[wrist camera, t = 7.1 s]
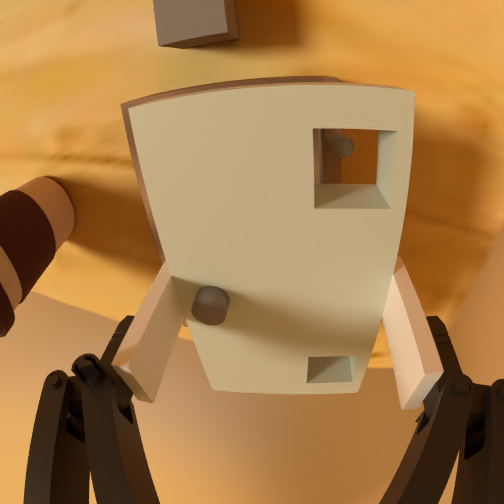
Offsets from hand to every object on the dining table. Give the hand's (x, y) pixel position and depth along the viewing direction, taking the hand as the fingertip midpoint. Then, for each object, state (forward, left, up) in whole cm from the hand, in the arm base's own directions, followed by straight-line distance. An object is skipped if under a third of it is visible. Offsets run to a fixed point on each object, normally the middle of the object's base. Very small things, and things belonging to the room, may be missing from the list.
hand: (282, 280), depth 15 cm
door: (0, 0, -1) cm, 1 cm away
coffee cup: (-1, -23, -10) cm, 25 cm away
